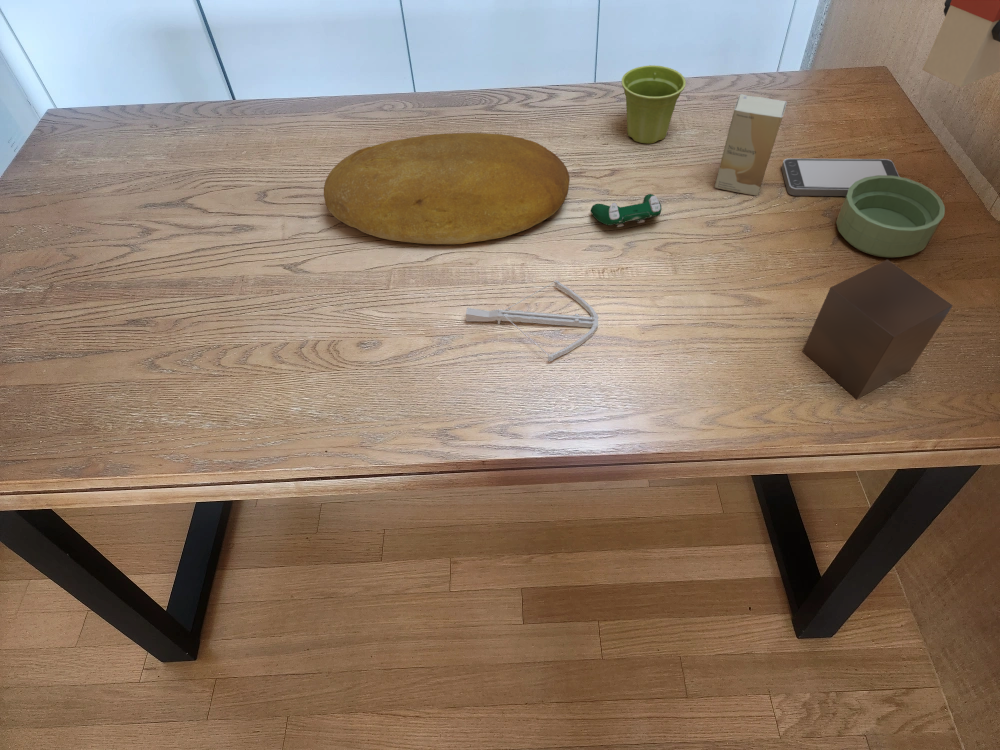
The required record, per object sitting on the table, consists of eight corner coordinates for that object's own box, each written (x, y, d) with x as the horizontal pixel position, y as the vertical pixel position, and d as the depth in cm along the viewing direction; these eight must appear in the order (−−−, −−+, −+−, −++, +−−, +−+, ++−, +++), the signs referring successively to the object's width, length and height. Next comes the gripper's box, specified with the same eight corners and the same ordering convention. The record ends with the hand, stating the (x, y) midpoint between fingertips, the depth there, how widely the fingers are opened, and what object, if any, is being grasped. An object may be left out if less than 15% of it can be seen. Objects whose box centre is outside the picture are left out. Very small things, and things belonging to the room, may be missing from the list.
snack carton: (1002, 70, 67) (1068, -52, 58) (959, 88, 65) (1021, -35, 57) (962, 52, 70) (1020, -67, 61) (921, 69, 68) (973, -51, 59)
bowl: (946, 241, 85) (965, 209, 81) (883, 273, 82) (899, 241, 79) (877, 197, 92) (891, 165, 88) (815, 225, 89) (827, 193, 85)
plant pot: (679, 119, 107) (687, 66, 100) (675, 152, 101) (683, 98, 95) (621, 116, 109) (625, 63, 102) (613, 148, 103) (618, 95, 96)
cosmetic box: (713, 189, 95) (731, 109, 86) (719, 172, 98) (737, 92, 88) (759, 197, 93) (783, 116, 84) (764, 179, 96) (787, 99, 86)
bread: (336, 181, 102) (318, 121, 95) (562, 162, 102) (563, 100, 94) (321, 260, 91) (299, 199, 83) (576, 239, 90) (578, 176, 82)
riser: (910, 369, 73) (953, 305, 65) (856, 399, 71) (893, 336, 63) (854, 324, 78) (887, 259, 70) (801, 351, 76) (830, 287, 68)
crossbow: (597, 292, 85) (599, 281, 83) (595, 369, 77) (597, 358, 75) (473, 283, 86) (473, 271, 84) (459, 357, 78) (458, 346, 76)
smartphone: (782, 158, 97) (891, 159, 95) (780, 164, 98) (888, 165, 96) (790, 188, 92) (905, 190, 90) (788, 195, 93) (902, 196, 91)
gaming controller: (593, 233, 94) (604, 228, 88) (588, 206, 93) (599, 199, 87) (655, 221, 94) (670, 215, 88) (651, 194, 94) (666, 186, 88)
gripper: (1056, -207, 58) (900, -21, 65) (1238, -175, 50) (1038, 34, 56) (1061, -145, 64) (917, 20, 70) (1225, -107, 55) (1044, 76, 62)
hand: (972, 25), depth 63 cm, fingers closed on snack carton, 4 cm apart
